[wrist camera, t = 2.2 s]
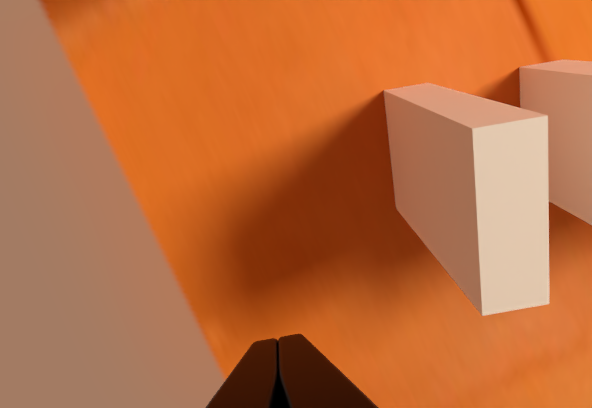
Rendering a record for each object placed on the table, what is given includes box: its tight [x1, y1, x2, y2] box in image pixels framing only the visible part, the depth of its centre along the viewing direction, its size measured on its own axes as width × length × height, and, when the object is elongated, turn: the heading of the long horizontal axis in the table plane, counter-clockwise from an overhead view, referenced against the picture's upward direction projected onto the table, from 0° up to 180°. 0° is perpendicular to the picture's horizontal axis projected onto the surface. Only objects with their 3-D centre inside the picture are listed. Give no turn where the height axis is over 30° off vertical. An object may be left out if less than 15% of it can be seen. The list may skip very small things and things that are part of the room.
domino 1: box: [384, 83, 549, 316], centre depth 17 cm, size 2×5×9 cm, turn 9°
